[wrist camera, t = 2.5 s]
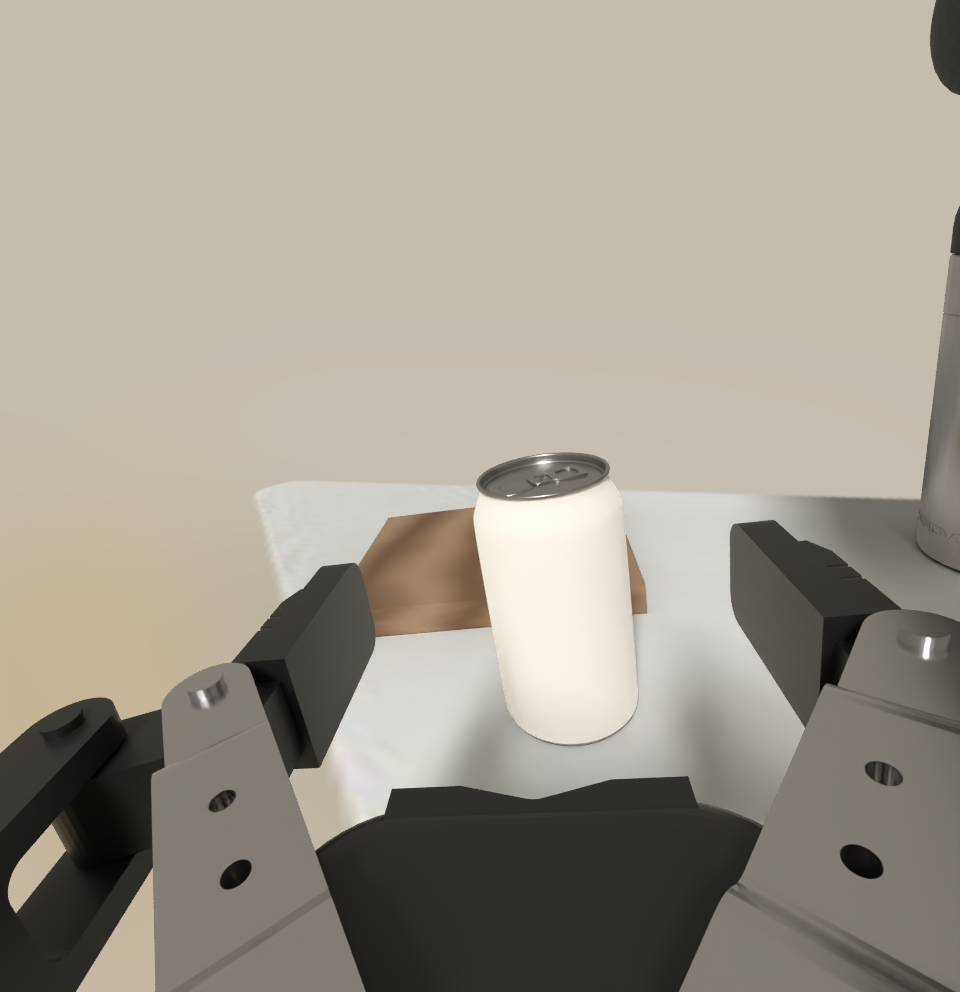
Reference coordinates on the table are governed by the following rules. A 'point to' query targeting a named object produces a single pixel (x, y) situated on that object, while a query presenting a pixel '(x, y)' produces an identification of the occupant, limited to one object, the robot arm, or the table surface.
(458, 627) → the serving board
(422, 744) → the table surface
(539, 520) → the can
